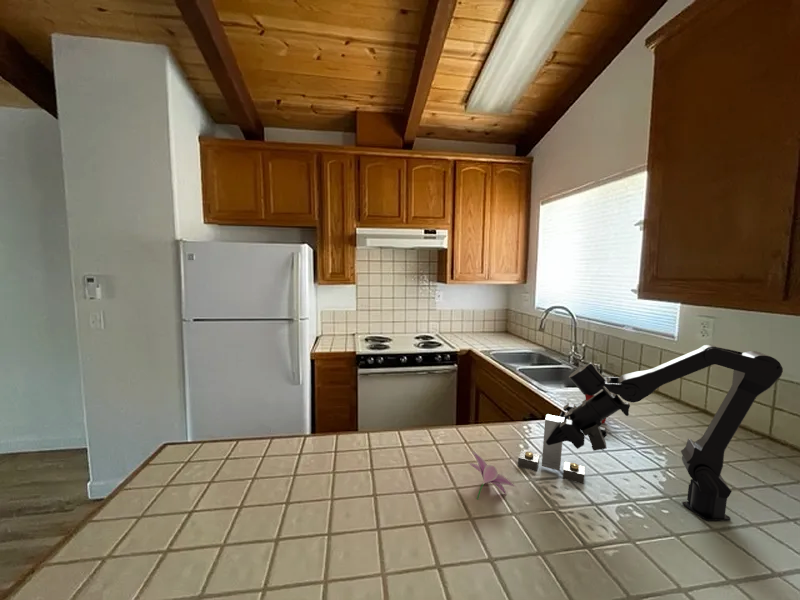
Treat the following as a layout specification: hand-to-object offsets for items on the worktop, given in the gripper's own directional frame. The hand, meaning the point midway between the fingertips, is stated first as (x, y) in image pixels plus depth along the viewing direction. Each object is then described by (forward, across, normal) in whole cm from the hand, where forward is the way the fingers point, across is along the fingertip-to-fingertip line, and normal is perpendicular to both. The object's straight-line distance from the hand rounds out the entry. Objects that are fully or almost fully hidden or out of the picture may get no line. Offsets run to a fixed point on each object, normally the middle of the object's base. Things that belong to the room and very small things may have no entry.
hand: (547, 440), depth 103 cm
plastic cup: (-3, +50, -15) cm, 52 cm away
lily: (+14, -20, +2) cm, 24 cm away
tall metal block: (+4, 0, -6) cm, 7 cm away
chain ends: (+5, 0, -7) cm, 8 cm away
